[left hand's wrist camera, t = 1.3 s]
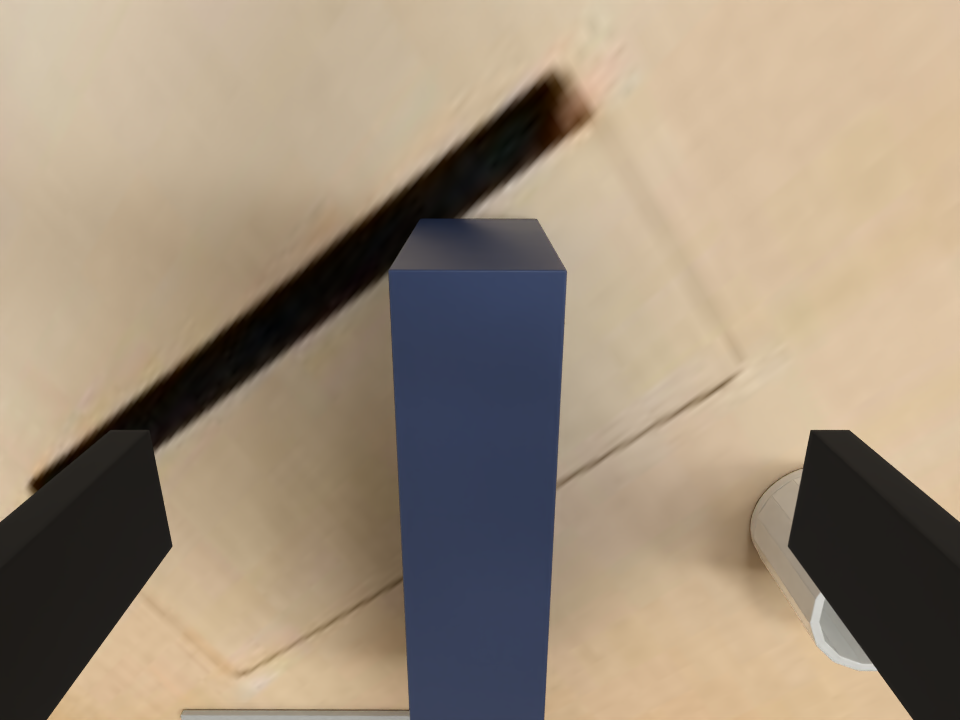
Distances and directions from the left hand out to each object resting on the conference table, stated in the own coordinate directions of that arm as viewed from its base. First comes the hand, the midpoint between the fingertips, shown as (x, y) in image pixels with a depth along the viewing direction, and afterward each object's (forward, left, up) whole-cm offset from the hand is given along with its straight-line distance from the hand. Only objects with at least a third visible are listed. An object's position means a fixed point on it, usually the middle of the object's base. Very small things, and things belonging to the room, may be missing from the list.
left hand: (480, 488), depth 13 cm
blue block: (+9, 0, -16) cm, 19 cm away
